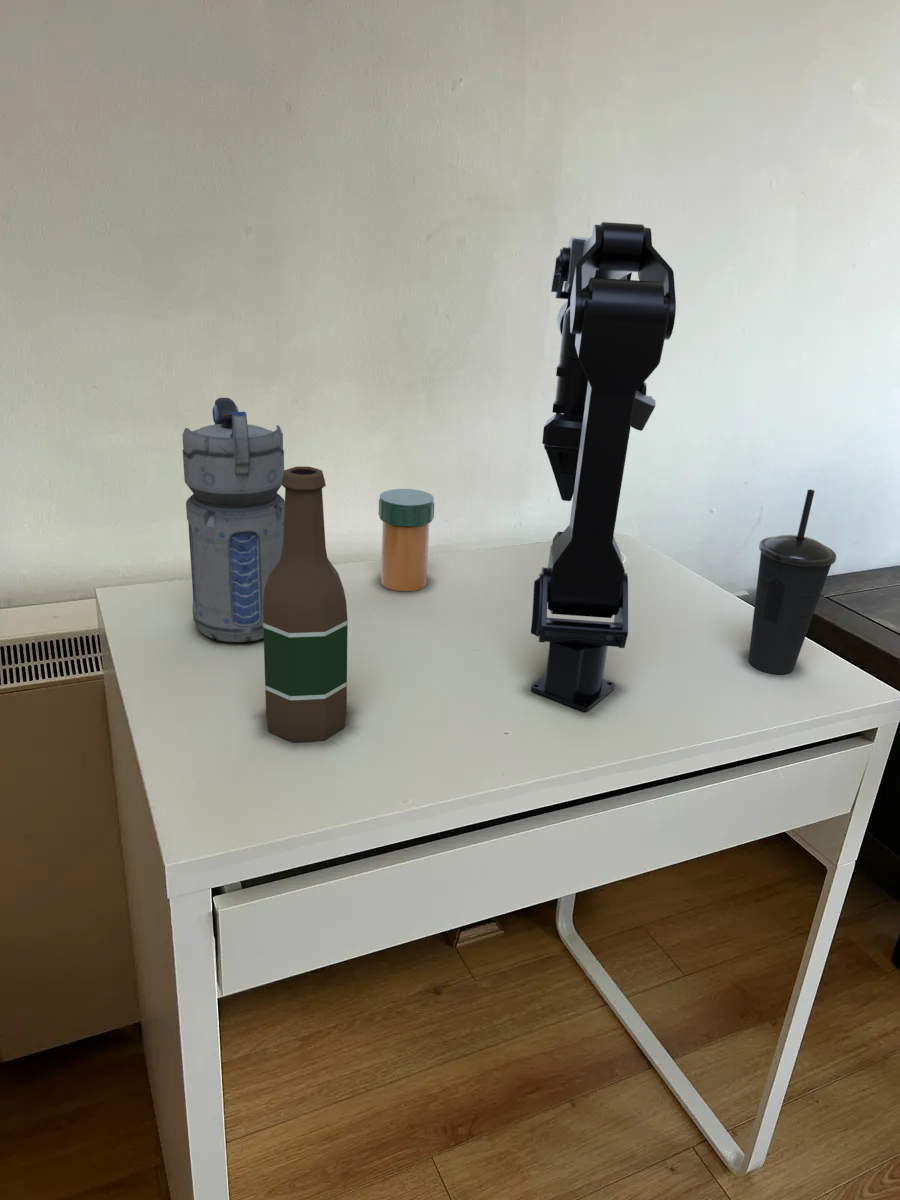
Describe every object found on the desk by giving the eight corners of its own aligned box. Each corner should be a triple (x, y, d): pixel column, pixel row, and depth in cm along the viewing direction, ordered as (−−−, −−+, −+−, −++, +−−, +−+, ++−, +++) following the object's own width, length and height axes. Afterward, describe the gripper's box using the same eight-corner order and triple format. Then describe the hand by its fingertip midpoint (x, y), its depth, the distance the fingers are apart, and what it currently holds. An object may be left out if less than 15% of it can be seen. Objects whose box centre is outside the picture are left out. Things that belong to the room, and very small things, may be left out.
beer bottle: (333, 751, 79) (334, 489, 69) (249, 737, 80) (239, 478, 71) (358, 707, 86) (362, 463, 76) (281, 695, 88) (276, 453, 78)
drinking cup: (817, 683, 96) (863, 504, 88) (746, 679, 96) (785, 499, 88) (794, 650, 103) (834, 481, 95) (727, 646, 103) (762, 477, 95)
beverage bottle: (273, 596, 109) (268, 387, 98) (297, 644, 97) (294, 414, 87) (186, 604, 105) (172, 388, 95) (200, 655, 94) (185, 417, 84)
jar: (418, 594, 111) (422, 510, 107) (374, 587, 113) (376, 504, 108) (431, 577, 117) (436, 497, 112) (389, 571, 118) (392, 491, 114)
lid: (423, 529, 107) (424, 508, 106) (371, 522, 109) (371, 500, 108) (439, 513, 113) (440, 493, 112) (389, 506, 115) (390, 485, 114)
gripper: (657, 377, 92) (636, 521, 99) (657, 351, 109) (638, 476, 115) (549, 367, 94) (535, 509, 100) (565, 343, 111) (552, 467, 117)
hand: (569, 489), depth 108 cm, fingers open, 9 cm apart
